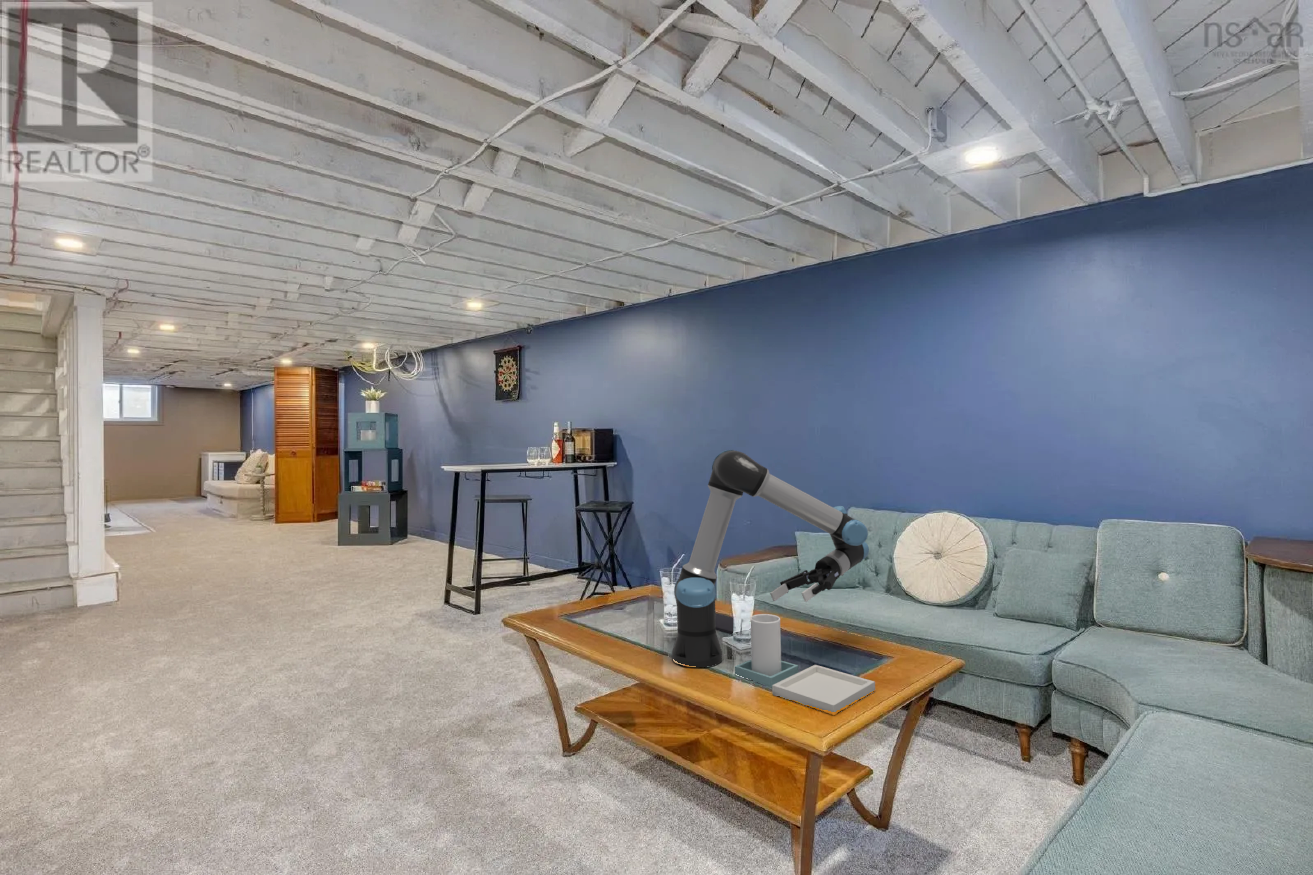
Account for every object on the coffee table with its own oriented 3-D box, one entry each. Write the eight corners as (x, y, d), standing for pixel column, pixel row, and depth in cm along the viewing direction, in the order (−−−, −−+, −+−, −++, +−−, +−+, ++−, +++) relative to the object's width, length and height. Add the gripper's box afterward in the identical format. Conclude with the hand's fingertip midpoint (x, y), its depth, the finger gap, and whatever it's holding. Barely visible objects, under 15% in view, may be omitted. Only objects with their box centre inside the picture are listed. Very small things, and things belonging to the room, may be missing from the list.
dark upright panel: (688, 623, 231) (733, 636, 216) (688, 619, 231) (733, 631, 215) (711, 616, 240) (756, 628, 224) (711, 612, 240) (756, 623, 224)
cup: (750, 669, 184) (748, 614, 183) (778, 669, 183) (777, 613, 183) (753, 680, 175) (752, 622, 175) (783, 680, 175) (782, 622, 175)
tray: (834, 715, 153) (833, 705, 153) (772, 694, 166) (772, 685, 166) (875, 691, 166) (874, 681, 166) (815, 673, 179) (815, 664, 179)
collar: (771, 687, 170) (771, 678, 170) (734, 675, 180) (734, 666, 180) (798, 674, 179) (798, 665, 179) (762, 663, 188) (762, 654, 188)
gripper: (867, 576, 191) (823, 609, 179) (808, 578, 211) (764, 608, 200) (858, 553, 191) (813, 585, 179) (799, 557, 211) (755, 585, 200)
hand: (787, 597), depth 189 cm, fingers open, 13 cm apart
